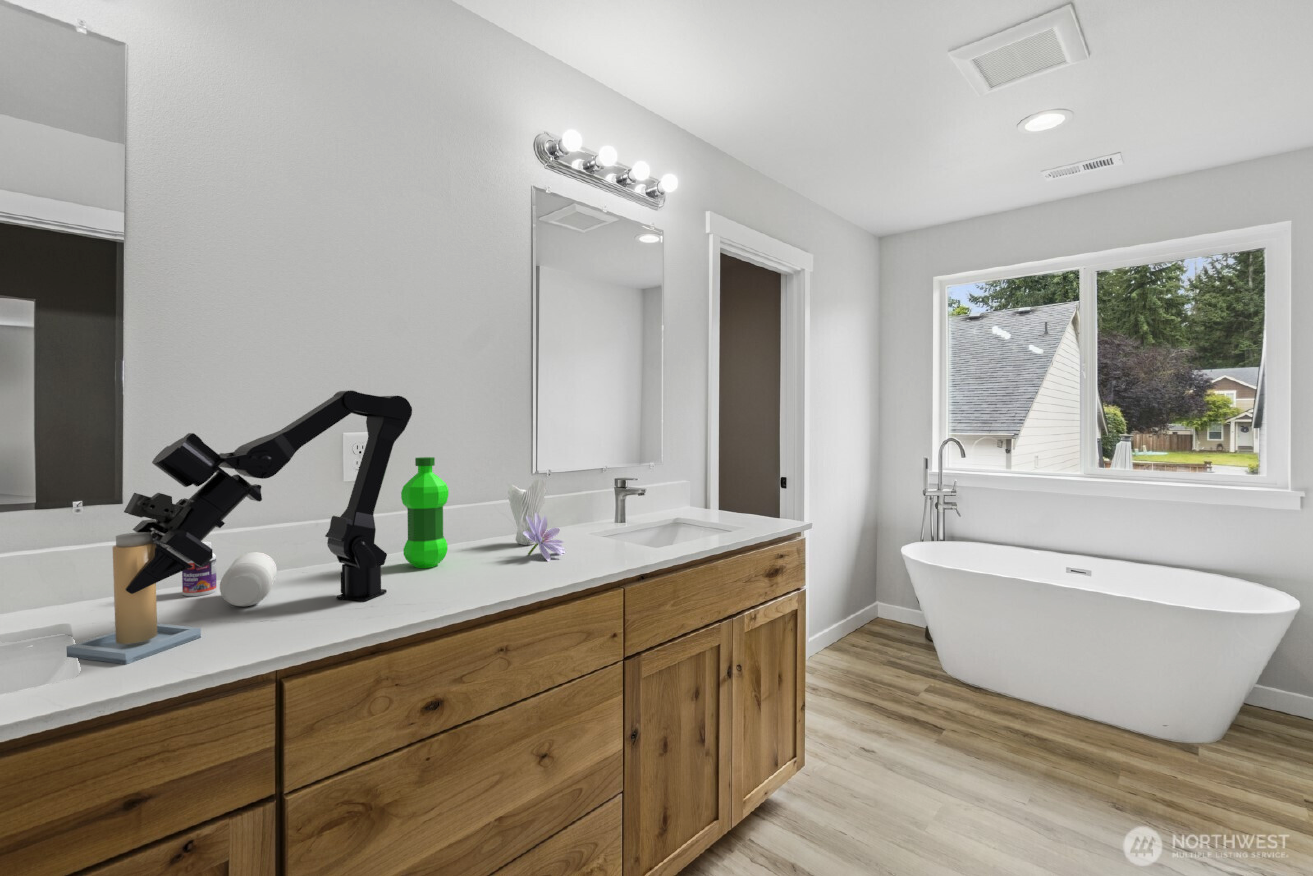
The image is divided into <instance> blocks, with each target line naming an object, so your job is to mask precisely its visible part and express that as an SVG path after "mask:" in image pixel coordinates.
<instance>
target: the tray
mask: <svg viewBox="0 0 1313 876" xmlns="http://www.w3.org/2000/svg"><path fill="white" fill-rule="evenodd" d="M200 638H202V628H201V627H195V626H188V625H187V626H186V625H176V624H169V623H168V624H166V623H158V622H157V636H156V637H154V638H151V639H149V640H145V641H141V642H136V643H129V644H119V643H116V637H115V631H112V632H109V633H106V634H103V635H100V636H97V637H93V638H90V639H86V640H84V641H80V642H77V643H73V644H71V645H68V646H66V657H67V658H73V659H81V660H89V661H97V662H105V663H111V664H120V665H121V664H122V665H128V664H130V663H134V662H136V661H139V660H142V659H144V658H147V657H150V656H153V655H156V654H158V653H162V652H164V651H167V650H170V649H172V648H173V649H174V648H175V647H177V646H181V645H183V644H186V643H188V642H192V641H195V640H198V639H200Z"/></svg>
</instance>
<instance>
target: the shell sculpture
mask: <svg viewBox="0 0 1313 876" xmlns="http://www.w3.org/2000/svg"><path fill="white" fill-rule="evenodd" d="M546 483H547V482H546V480H544V478H541V477H540V478H539V477H537V478H535V480H533V482H532V483H531V485H530V486H529V487H528V488H527V489H521V488H518V487H517V485H514V484H509V488H508V491H507V493H508V501H509V506H510V509H511V512H512V515H513V518H514V520H515V521H514V522H515V523H516V526H517V530H516V535H515V542H516V543H517V544H520V545H524V546H530V545H535V544H536V542H532V541H530V540H529V539H528V538H526V536H525V535H524V534H523V532H524V531H529V532H531V530H530V528H529V526H528V523H527V519H526V516H528V517H529V518H530V519H531V520H532V521H533V523H534V518H535V513H537V514H538V515H539V516H540V514H541V513H542V512H541V511H542V508H543V506H544V504H545V497H546V494H547V490H546ZM534 525H535V524H534ZM531 533H532V532H531ZM532 534H533V533H532ZM533 535H534V534H533Z"/></svg>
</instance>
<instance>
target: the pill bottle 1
mask: <svg viewBox="0 0 1313 876" xmlns="http://www.w3.org/2000/svg"><path fill="white" fill-rule="evenodd" d="M202 542H203V543H204V544H206V545H207V546H208V547H210V548H211V549H212V542H211V541H202ZM212 554H213V558H212V559H211V560H210V561H209V562H208V563H207V564H206V565H205V566H204V567H203V568H202V567H199V566H197V565H195V564H194V562H193V561H190V562H189V563H188V564H190V565H191V566H193V567H192V568H190V569H186V570H184V571H181V574H182V575H181V577H182V578H181V581H182V582H181V584H182V585H181V590H182V592H181V593H182V595H184V596H185V597H199V596H200V597H201V596H205V595H210V594H213V593H215V592H216V591H217V555H216V554H215V553H214V552H212Z"/></svg>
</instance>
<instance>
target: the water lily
mask: <svg viewBox="0 0 1313 876" xmlns="http://www.w3.org/2000/svg"><path fill="white" fill-rule="evenodd" d="M547 518H548V517H547V516H546V515H543V516H542V517H540V515H538V514H537V513H535V518H534V523H533V521H532V520H531V519H530V518H529V517H528V516H526V519H527V527H528V526H529V528H530V530H531V532H532V533H533V534H534V535H533V534H532V533H531V532H529V531H524V532H523V534H524V535H525V536H526V538H528V539H529V540H530V541H532V542H536V543H535V544H533V546H532V548H531V549H530V550H529V551H528V553H527V555H528V556H531V554H532V553H533V552H534V550H535V549H536V548H537V546H538V548H539V551H540V553H541V555H542V557H543V558H544V559H545V560H546V561H547V562H550V561H551V555H550V553H549V551H550V552H553V553H554V554H556V555H560V556H564V554H566V551H565V547H564V546H563V545H562V544H564V543H565V542H564V541H563V540H560V539H553V538H555V537H556V536H558V534H559V533H560V532H561V528H560V527H553V528H550V529H547V528H548V519H547ZM534 524H535V525H534ZM548 550H549V551H548Z"/></svg>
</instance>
